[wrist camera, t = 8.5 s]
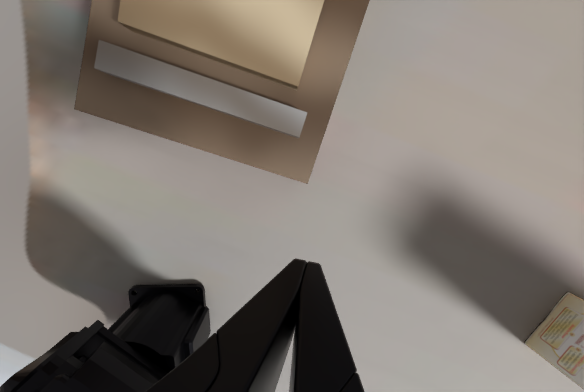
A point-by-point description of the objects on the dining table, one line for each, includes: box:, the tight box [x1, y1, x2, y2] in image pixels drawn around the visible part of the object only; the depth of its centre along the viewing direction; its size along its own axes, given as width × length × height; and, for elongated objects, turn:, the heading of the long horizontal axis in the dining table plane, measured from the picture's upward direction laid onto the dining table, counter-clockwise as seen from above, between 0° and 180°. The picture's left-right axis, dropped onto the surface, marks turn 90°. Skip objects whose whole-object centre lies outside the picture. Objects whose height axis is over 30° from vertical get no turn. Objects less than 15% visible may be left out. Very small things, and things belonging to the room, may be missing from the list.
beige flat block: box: [74, 0, 369, 184], centre depth 15 cm, size 20×15×6 cm
